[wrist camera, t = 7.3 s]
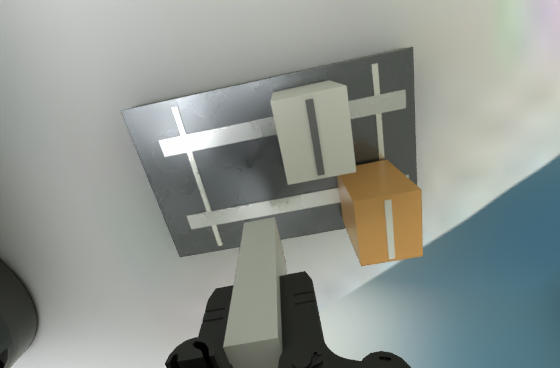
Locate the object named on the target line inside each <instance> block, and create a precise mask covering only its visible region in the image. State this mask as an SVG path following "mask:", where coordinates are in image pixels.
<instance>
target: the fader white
mask: <svg viewBox="0 0 560 368" xmlns="http://www.w3.org/2000/svg"><path fill="white" fill-rule="evenodd" d="M270 102H271V107H272V112H273V117H274V121H275V126H276V131H277V136H278V140H279V145H280V150H281V155H282V159H283V164H284V169H285V174H286V178H287V183H288V185H290V184H295V183H301V182H306V181H311V180H317V179H322V178H327V177H332V176H338V175H343V174H348V173H354V172H356V165H355V156H354V147H353V138H352V129H351V120H350V111H349V102H348V93H347V86H346V85H343V84H340V83H336V82H333V81H330V80H327V81H323V82H318V83H313V84H309V85H304V86H299V87H295V88H290V89H286V90H281V91H276V92H273V94H272V98H271V101H270Z"/></svg>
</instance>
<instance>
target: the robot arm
mask: <svg viewBox="0 0 560 368" xmlns="http://www.w3.org/2000/svg"><path fill="white" fill-rule="evenodd" d="M36 328H37V318H36V312H35V308H34V305H33V303H32V300H31V298H30V296H29V294H28V292H27V291H26V289H25V288H24V286H23V285H22V283H21V282H20V281H19V279H18V278H17V277H16V276H15V275H14V274H13V273H12V271H11V270H10V269H9V268H8V267H6V266H5V265H4V264H3V263H2V262H1V261H0V368H10V367H11V366H12V365H13V364H14V363H15V362H16V361H17V359H18V358H19V357H20V356H21V355H22V354H23V353H24V352H25V351H26V349H27V348H28V347H29V346H30V344H31V343H32V341H33V339H34V336H35V333H36ZM165 365H166V367H167V368H411V367H410V366H409V365H408V364H407V363H406V362H405V361H404V360H403V359H402V358H400V357H399V356H397V355H395V354H393V353H389V352H383V351H379V352H374V353H370V354H369V355H368V356H366V357H365V358H363V360H362V361H356V360H350V359H346V358H342V357H340V356H338V355H336V354H334V353H333V352H332V351H331V350H330V349H329V348H328V347H327V346H326V344H325V342H324V338H323V332H322V327H321V322H320V317H319V312H318V306H317V302H316V297H315V292H314V287H313V282H312V279H311V278H310V277H309V276H308V274H307V273H306V272H305V271H304V272H299V273H293V274H288V275H287V270H286V261H285V257H284V253H283V249H282V244H281V240H280V236H279V232H278V228H277V224H276V220H275V217H272V218H267V219H262V220H257V221H252V222H247V223H244V227H243V233H242V239H241V244H240V250H239V256H238V262H237V268H236V274H235V280H234V285H233V286H227V287H222V288H217V289H215V291H214V292H213V294H212V295H211V296H210V298H209V299H208V302H207V306H206V310H205V314H204V317H203V323H202V325H201V329H200V332H199V336H198V338H197V337H195V338H192V339H189V340H186V341H185V342H183V343H182V344H180V345H179V346H177V347H176V348H175V349H174V350H173V352H172V353H171V354H170V355H169V357H168V359H167V361H166V363H165Z"/></svg>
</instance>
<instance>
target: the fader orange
mask: <svg viewBox="0 0 560 368" xmlns="http://www.w3.org/2000/svg"><path fill="white" fill-rule="evenodd" d="M337 181H338V188H339V195H340V202H341V210H342V217H343V222H344V225H345V227H346V230H347V232H348V235H349V237H350V240H351V242H352V245H353V247H354V250H355V252H356V255H357V257H358V260H359V262H360V265H361V266H365V265H371V264H377V263H383V262H389V261H396V260H402V259H408V258H414V257H420V256H423V245H422V200H421V189H420V188H419V187H418V186H417V185H415V184H414V183H413V182H412V181H411V180H410V179H409V178H408V177H406V176H405V175H404V174H403V173H402V172H401V171H400V170H398V169H397V168H396V167H395V166H394V165H393V164H392V163H390V162H389V161H388V160H382V161H377V162H372V163H367V164H361V165H356V172H354V173H348V174H343V175H338V176H337Z"/></svg>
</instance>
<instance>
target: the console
mask: <svg viewBox="0 0 560 368" xmlns="http://www.w3.org/2000/svg"><path fill="white" fill-rule="evenodd" d="M327 80H330V81H333V82H336V83H340V84H343V85H346V86H347V93H348V102H349V111H350V120H351V129H352V138H353V147H354V156H355V165H361V164H367V163H372V162H377V161H382V160H388V161H389V162H390V163H392V164H393V165H394V166H395V167H396V168H397V169H398V170H400V171H401V172H402V173H403V174H404V175H405V176H406V177H408V178H409V179H410V180H411V181H412V182H413V183H414V184H415V185H417V171H416V136H415V101H414V66H413V47H410V48H403V49H398V50H393V51H389V52H384V53H379V54H375V55H370V56H366V57H361V58H357V59H352V60H347V61H343V62H338V63H334V64H329V65H325V66H320V67H315V68H311V69H306V70H302V71H297V72H293V73H288V74H283V75H279V76H274V77H270V78H265V79H261V80H256V81H252V82H247V83H242V84H238V85H233V86H229V87H224V88H220V89H215V90H210V91H206V92H201V93H197V94H192V95H188V96H183V97H178V98H174V99H169V100H165V101H160V102H156V103H151V104H146V105H142V106H137V107H133V108H129V109H126V110H122V111H121V113H122V115H123V118H124V120H125V123H126V125H127V127H128V130H129V132H130V135H131V137H132V140H133V142H134V145H135V147H136V150H137V152H138V155H139V157H140V160H141V162H142V165H143V167H144V169H145V172H146V174H147V177H148V179H149V182H150V184H151V187H152V189H153V192H154V194H155V197H156V199H157V202H158V204H159V207H160V209H161V211H162V214H163V216H164V219H165V221H166V224H167V226H168V229H169V231H170V234H171V236H172V239H173V241H174V244H175V246H176V249H177V251H178V254H179V256H180V257H184V256H190V255H196V254H202V253H207V252H213V251H219V250H224V249H230V248H236V247H240V244H241V239H242V233H243V227H244V223H247V222H252V221H257V220H262V219H267V218H272V217H275V220H276V224H277V228H278V232H279V236H280V240H282V239H287V238H293V237H299V236H304V235H310V234H316V233H322V232H327V231H333V230H339V229H345V228H346V227H345V225H344V222H343V217H342V210H341V202H340V195H339V188H338V181H337V176H332V177H327V178H322V179H317V180H311V181H306V182H301V183H295V184H290V185H288V183H287V178H286V174H285V169H284V164H283V159H282V155H281V150H280V145H279V140H278V136H277V131H276V126H275V121H274V117H273V112H272V107H271V102H270V101H271V98H272V94H273V92H276V91H281V90H286V89H290V88H295V87H299V86H304V85H309V84H313V83H318V82H323V81H327Z"/></svg>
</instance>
